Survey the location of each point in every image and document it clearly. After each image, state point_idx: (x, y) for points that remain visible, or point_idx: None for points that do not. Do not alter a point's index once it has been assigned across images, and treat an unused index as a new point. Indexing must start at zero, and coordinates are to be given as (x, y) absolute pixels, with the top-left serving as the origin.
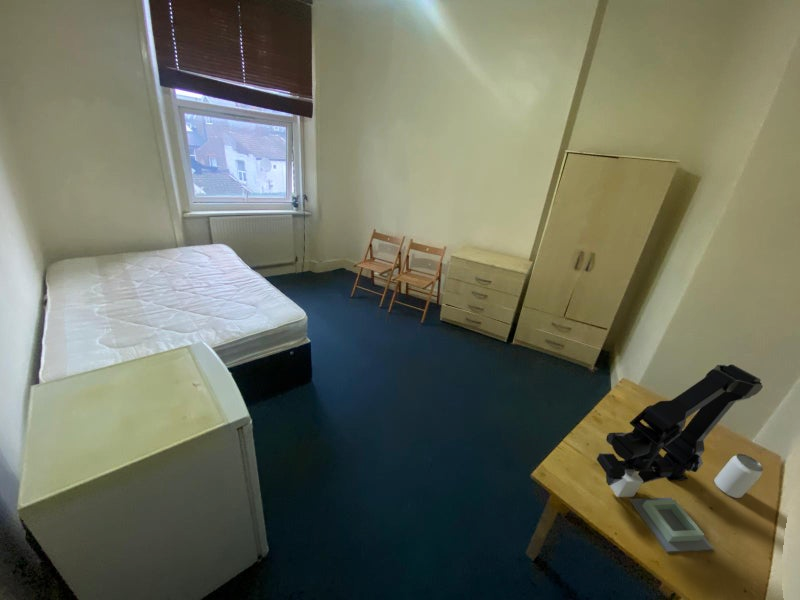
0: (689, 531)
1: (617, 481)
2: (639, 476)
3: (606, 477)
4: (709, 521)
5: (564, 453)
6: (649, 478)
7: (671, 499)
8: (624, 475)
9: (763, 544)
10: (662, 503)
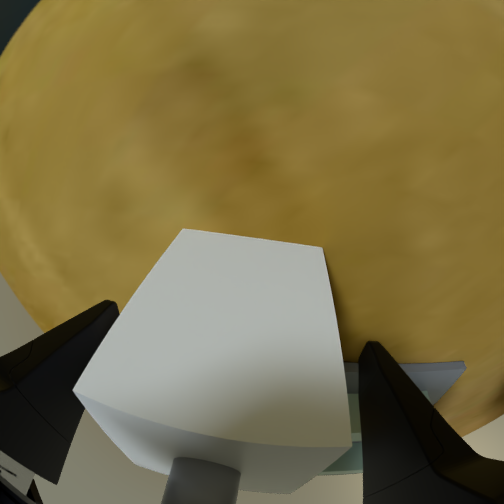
0: (335, 472)
1: (77, 423)
2: (296, 487)
3: (67, 324)
4: (467, 405)
5: (37, 24)
6: (367, 489)
7: (456, 375)
8: (137, 454)
9: (488, 421)
10: (357, 439)
